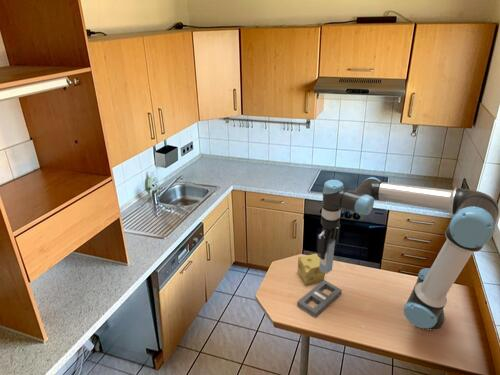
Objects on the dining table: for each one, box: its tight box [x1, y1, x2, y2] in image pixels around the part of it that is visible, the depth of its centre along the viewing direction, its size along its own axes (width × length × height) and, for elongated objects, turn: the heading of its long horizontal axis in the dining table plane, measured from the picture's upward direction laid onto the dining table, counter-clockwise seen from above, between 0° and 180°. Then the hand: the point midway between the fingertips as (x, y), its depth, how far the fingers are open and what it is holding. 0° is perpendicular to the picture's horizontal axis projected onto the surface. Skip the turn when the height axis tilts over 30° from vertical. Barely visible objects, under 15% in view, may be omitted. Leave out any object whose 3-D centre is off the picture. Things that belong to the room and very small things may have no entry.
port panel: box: [296, 279, 343, 318], centre depth 171 cm, size 10×20×3 cm, turn 135°
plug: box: [319, 238, 336, 275], centre depth 163 cm, size 4×4×16 cm
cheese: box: [297, 253, 326, 286], centre depth 184 cm, size 10×11×10 cm
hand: (326, 261), depth 165 cm, fingers closed on plug, 4 cm apart
